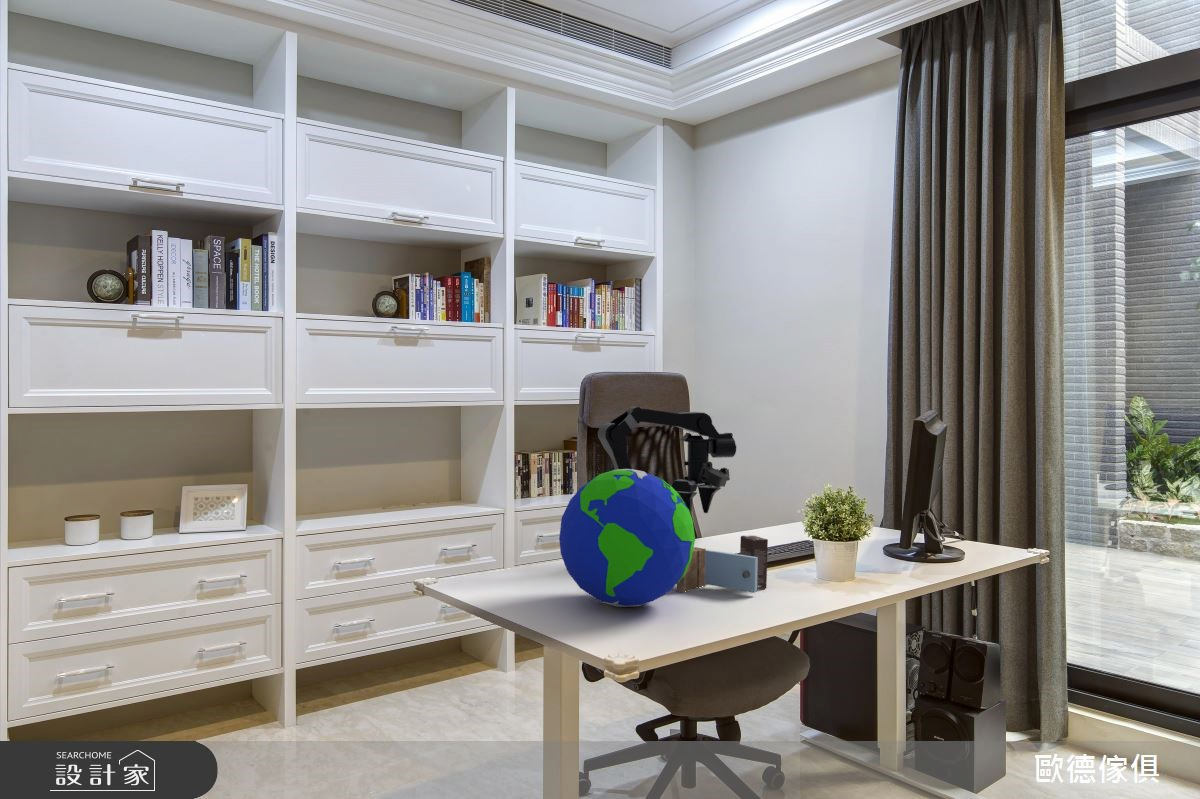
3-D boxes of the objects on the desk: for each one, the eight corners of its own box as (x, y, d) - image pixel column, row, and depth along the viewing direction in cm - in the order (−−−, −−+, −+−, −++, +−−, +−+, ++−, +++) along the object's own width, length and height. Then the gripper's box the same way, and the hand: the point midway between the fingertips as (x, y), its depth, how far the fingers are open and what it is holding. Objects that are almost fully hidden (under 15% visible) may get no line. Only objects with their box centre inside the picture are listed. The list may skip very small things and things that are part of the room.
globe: (545, 620, 168) (547, 474, 168) (570, 585, 198) (572, 461, 197) (692, 628, 164) (694, 478, 164) (695, 591, 194) (697, 464, 193)
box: (767, 589, 197) (768, 539, 197) (751, 590, 195) (752, 540, 195) (753, 583, 203) (754, 534, 202) (738, 584, 201) (739, 535, 201)
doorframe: (685, 593, 192) (686, 554, 192) (674, 591, 194) (675, 552, 194) (731, 576, 210) (732, 541, 209) (721, 574, 211) (721, 539, 211)
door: (702, 585, 196) (702, 551, 196) (707, 583, 198) (707, 549, 198) (752, 593, 188) (753, 558, 188) (757, 591, 190) (757, 557, 190)
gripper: (706, 462, 213) (705, 522, 213) (740, 457, 228) (739, 514, 228) (669, 459, 220) (669, 517, 220) (705, 455, 234) (704, 509, 235)
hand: (697, 514), depth 225 cm, fingers open, 9 cm apart
